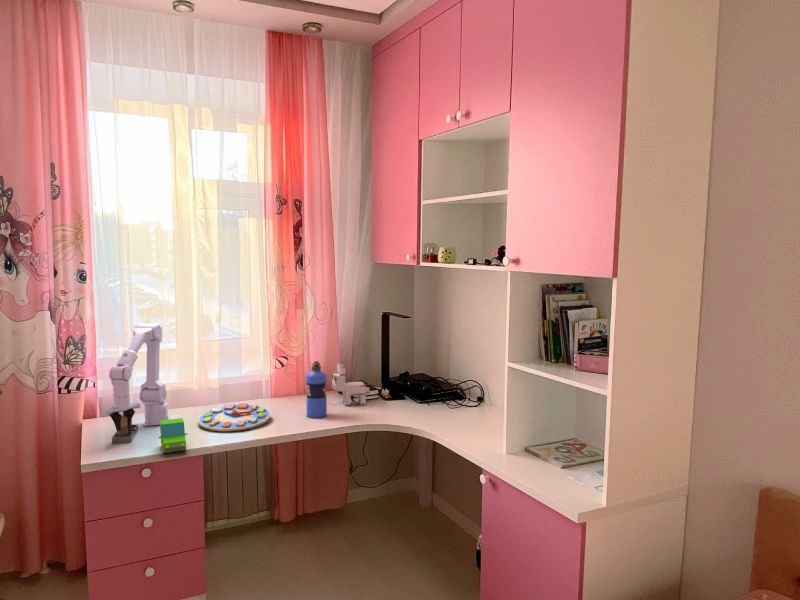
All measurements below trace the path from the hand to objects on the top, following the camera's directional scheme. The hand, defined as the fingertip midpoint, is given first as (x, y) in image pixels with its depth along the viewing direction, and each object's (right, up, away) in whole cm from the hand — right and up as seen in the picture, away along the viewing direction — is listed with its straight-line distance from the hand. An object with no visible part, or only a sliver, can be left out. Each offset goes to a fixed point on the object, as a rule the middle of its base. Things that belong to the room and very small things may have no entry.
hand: (122, 429), depth 241 cm
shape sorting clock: (+37, -3, +25) cm, 45 cm away
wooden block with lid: (0, -2, 0) cm, 2 cm away
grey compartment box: (-1, -4, +5) cm, 7 cm away
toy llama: (+86, 0, +56) cm, 103 cm away
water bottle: (+72, -2, +35) cm, 80 cm away
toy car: (+24, -6, -10) cm, 26 cm away
